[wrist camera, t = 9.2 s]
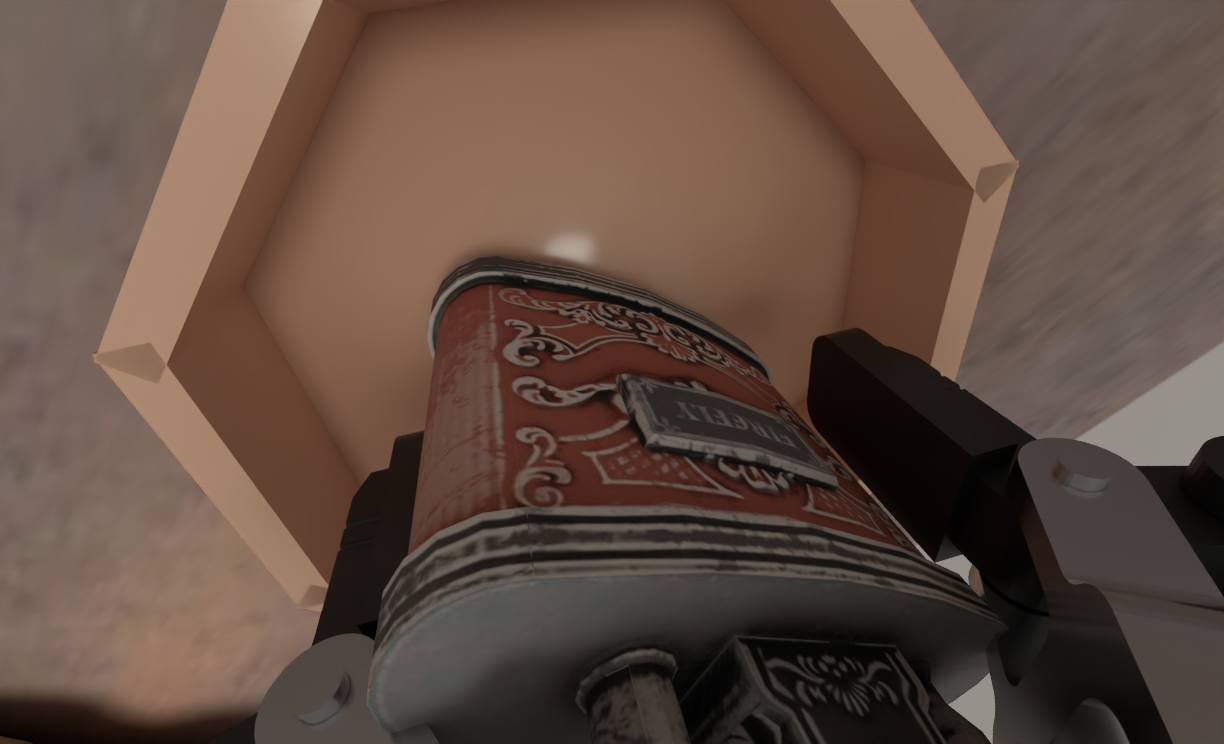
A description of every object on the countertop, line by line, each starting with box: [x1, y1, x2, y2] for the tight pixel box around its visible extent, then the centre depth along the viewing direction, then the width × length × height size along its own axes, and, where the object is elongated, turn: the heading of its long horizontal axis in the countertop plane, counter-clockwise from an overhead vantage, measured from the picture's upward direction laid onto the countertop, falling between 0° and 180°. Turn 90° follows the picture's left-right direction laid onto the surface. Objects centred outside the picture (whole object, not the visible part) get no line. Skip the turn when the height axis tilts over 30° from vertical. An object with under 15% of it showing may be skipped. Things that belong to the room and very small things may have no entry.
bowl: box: [92, 0, 1019, 612], centre depth 12 cm, size 16×16×4 cm
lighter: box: [366, 256, 1008, 744], centre depth 8 cm, size 8×3×10 cm, turn 65°
